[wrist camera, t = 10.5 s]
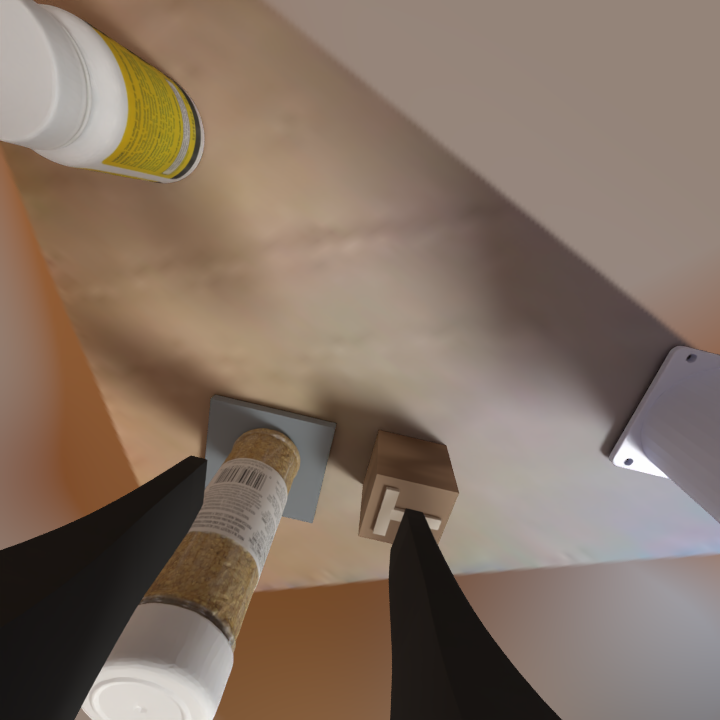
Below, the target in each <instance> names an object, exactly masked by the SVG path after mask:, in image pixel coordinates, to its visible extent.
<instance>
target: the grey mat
mask: <svg viewBox="0 0 720 720" xmlns="http://www.w3.org/2000/svg"><path fill="white" fill-rule="evenodd" d="M335 427H336V423H333V422H328V421H324V420H320V419H316V418H312V417H307V416H303V415H299V414H295V413H291V412H286V411H282V410H278V409H274V408H270V407H265V406H261V405H257V404H253V403H248V402H244V401H240V400H236V399H232V398H227V397H223V396H219V395H214V396H213V397H212V398H211V401H210V412H209V423H208V434H207V444H206V455H205V459H207V460H208V461H207V471H206V481H205V489H206V487H207V486H208V484H209V483H210V481H211V480H212V479H213V477H214V476H215V474H216V473H217V471H218V470H219V469H220V467H221V466H222V464H223V463H224V462H225V460H226V458H227V457H228V456H229V454H230V453H231V451H232V448H233V445H234V443H235V441H236V440H237V439H238V438H239V437H240V436H241V435H242V434H243V433H246V432H247V431H250V430H252V429H259V428H267V429H270V430H275V431H278V432H280V433H283V434H284V435H286V436H287V437H288V438H289V439H290V440H291V441H292V442H293V443H294V444H295V446H296V447H297V449H298V451H299V455H300V467H299V470H298V472H297V475H296V476H295V478H294V479H293V482H292V485H291V488H290V491H289V493H288V496H287V502H286V505H285V508H284V510H283V513H282V516H283V517H288V518H292V519H296V520H301V521H305V522H309V523H313V519H314V515H315V511H316V506H317V502H318V498H319V494H320V490H321V486H322V482H323V477H324V473H325V469H326V465H327V461H328V457H329V452H330V448H331V444H332V440H333V436H334V432H335Z"/></svg>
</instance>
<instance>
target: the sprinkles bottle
mask: <svg viewBox="0 0 720 720" xmlns="http://www.w3.org/2000/svg"><path fill="white" fill-rule="evenodd" d="M299 467H300V455H299V451H298V449H297V447H296V446H295V444H294V443H293V442H292V441H291V440H290V439H289V438H288V437H287V436H286V435H284V434H283V433H280V432H278V431H275V430H270V429H267V428H259V429H252V430H250V431H247V432H246V433H243V434H242V435H241V436H240V437H239V438H238V439H237V440H236V441H235V443H234V445H233V448H232V451H231V453H230V454H229V456H228V457H227V458H226V460H225V462H224V463H223V464H222V466H221V467H220V469H219V470H218V471H217V473H216V474H215V476H214V477H213V479H212V480H211V481H210V483H209V484H208V486H207V487H206V489H205V491H204V501H203V506H202V507H201V509H200V511H199V513H198V515H197V517H196V519H195V521H194V523H193V524H192V526H191V528H190V530H189V532H188V533H187V535H186V536H185V538H184V539H183V540H182V542H181V543H180V545H179V546H178V548H177V549H176V551H175V552H174V554H173V555H172V556H171V558H170V559H169V561H168V562H167V564H166V565H165V567H164V568H163V569H162V571H161V572H160V574H159V575H158V577H157V578H156V579H155V581H154V582H153V584H152V585H151V587H150V588H149V590H148V591H147V592H146V594H145V595H144V597H143V598H142V600H141V602H140V603H139V605H138V606H137V608H136V609H135V611H134V613H133V615H132V616H131V618H130V620H129V622H128V623H127V625H126V627H125V628H124V630H123V632H122V634H121V635H120V637H119V639H118V641H117V642H116V644H115V646H114V648H113V649H112V651H111V653H110V655H109V657H108V658H107V660H106V662H105V664H104V666H103V667H102V669H101V671H100V673H99V675H98V676H97V678H96V680H95V682H94V684H93V686H92V688H91V689H90V691H89V693H88V695H87V697H86V699H85V701H84V703H83V704H82V706H81V708H82V709H83V711H84V712H85V713H86V714H87V715H88V716H89V717H90V718H91V719H92V720H213V718H214V715H215V713H216V711H217V708H218V705H219V703H220V700H221V697H222V694H223V691H224V688H225V686H226V683H227V680H228V677H229V674H230V671H231V668H232V665H233V652H234V649H235V646H236V643H235V641H236V639H237V636H238V634H239V631H240V628H241V625H242V622H243V619H244V616H245V614H246V611H247V608H248V604H249V602H250V600H251V597H252V594H253V591H254V589H255V588H256V586H257V584H258V581H259V578H260V575H261V572H262V569H263V566H264V564H265V561H266V558H267V555H268V552H269V549H270V547H271V544H272V541H273V538H274V535H275V533H276V530H277V527H278V524H279V522H280V519H281V516H282V513H283V510H284V508H285V505H286V502H287V496H288V493H289V491H290V488H291V485H292V482H293V479H294V478H295V476H296V475H297V472H298V470H299Z"/></svg>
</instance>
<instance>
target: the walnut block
mask: <svg viewBox="0 0 720 720" xmlns="http://www.w3.org/2000/svg"><path fill="white" fill-rule="evenodd" d="M458 494H459V491H458V487H457V483H456V480H455V476H454V472H453V469H452V465H451V461H450V458H449V454H448V450H447V446H446V445H442V444H437V443H433V442H429V441H425V440H420V439H416V438H412V437H408V436H403V435H399V434H395V433H391V432H386V431H382V430H378V434H377V437H376V441H375V444H374V448H373V451H372V455H371V458H370V462H369V465H368V469H367V472H366V476H365V479H364V483H363V490H362V501H361V512H360V524H359V535H358V536H360V537H364V538H369V539H373V540H378V541H382V542H386V543H391V544H393V542H394V539H395V536H396V534H397V531H398V528H399V525H400V523H401V520H402V517H403V515H404V512H405V509H406V508H408V509H412V510H416V511H420V512H423V514H424V516H425V518H426V520H427V522H428V525H429V527H430V529H431V531H432V534H433V536H434V538H435V540H436V542H437V544H438V543H439V541H440V538H441V536H442V533H443V531H444V528H445V526H446V524H447V521H448V519H449V516H450V514H451V511H452V509H453V507H454V504H455V502H456V499H457V497H458Z"/></svg>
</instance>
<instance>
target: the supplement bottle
mask: <svg viewBox="0 0 720 720" xmlns="http://www.w3.org/2000/svg"><path fill="white" fill-rule="evenodd" d="M0 141H4V142H8V143H12V144H16V145H20V146H24V147H27V148H31V149H32V150H33V151H35V152H36V153H38V154H39V155H41V156H43V157H45V158H47V159H49V160H51V161H53V162H56V163H58V164H61V165H65V166H69V167H73V168H79V169H85V170H90V171H96V172H102V173H107V174H112V175H118V176H123V177H129V178H133V179H139V180H145V181H151V182H156V183H173V182H176V181H179V180H181V179H183V178H185V177H187V176H188V175H189V174H190V173H192V172H193V171H194V169H195V168H196V167H197V165H198V164H199V162H200V159H201V157H202V153H203V149H204V129H203V124H202V120H201V117H200V114H199V112H198V109H197V107H196V105H195V104H194V102H193V100H192V99H191V97H190V96H189V95H188V94H187V92H186V91H185V90H184V89H183V88H182V87H181V86H180V85H178V84H177V83H176V82H175V81H173V80H172V79H170V78H169V77H168V76H166V75H165V74H163V73H162V72H160V71H159V70H157V69H156V68H154V67H153V66H151V65H150V64H148V63H147V62H145V61H144V60H142V59H141V58H139V57H138V56H136V55H135V54H134V53H132V52H131V51H129V50H128V49H126V48H125V47H123V46H121V45H120V44H118V43H117V42H115V41H114V40H112V39H111V38H109V37H108V36H106V35H105V34H104V33H102V32H101V31H99V30H97V29H96V28H94V27H93V26H92V25H90V24H89V23H87V22H85V21H84V20H82V19H80V18H79V17H77V16H75V15H74V14H72V13H70V12H68V11H66V10H63V9H61V8H58V7H55V6H51V5H45V4H38V3H36V2H35V1H33V0H0Z"/></svg>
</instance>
